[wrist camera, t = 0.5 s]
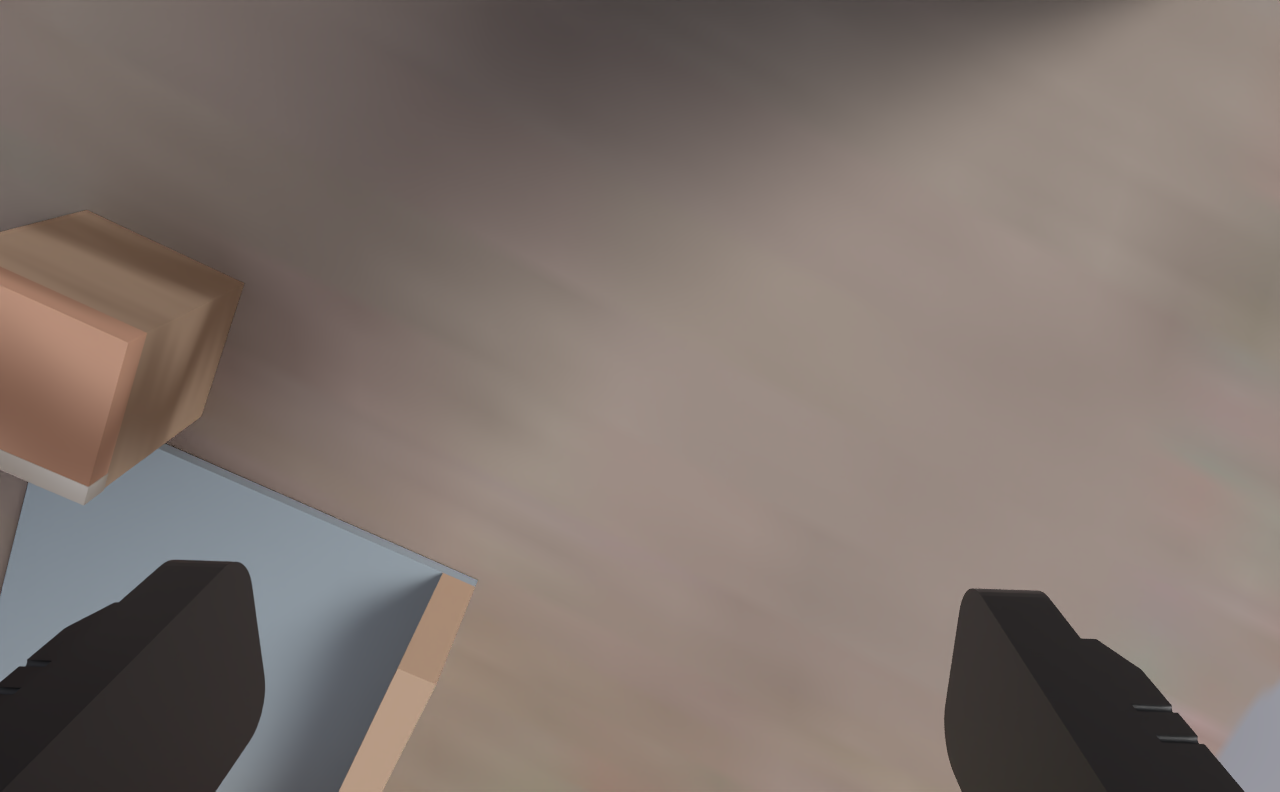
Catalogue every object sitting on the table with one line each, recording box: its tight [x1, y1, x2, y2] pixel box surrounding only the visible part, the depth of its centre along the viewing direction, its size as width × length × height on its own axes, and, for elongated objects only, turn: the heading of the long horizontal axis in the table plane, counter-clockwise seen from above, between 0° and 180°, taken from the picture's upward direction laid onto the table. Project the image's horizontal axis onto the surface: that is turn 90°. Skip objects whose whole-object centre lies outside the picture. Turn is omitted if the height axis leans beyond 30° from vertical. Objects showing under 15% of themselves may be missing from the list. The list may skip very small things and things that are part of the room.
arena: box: [0, 444, 478, 792], centre depth 29 cm, size 16×15×5 cm
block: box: [0, 210, 244, 505], centre depth 24 cm, size 5×5×6 cm
